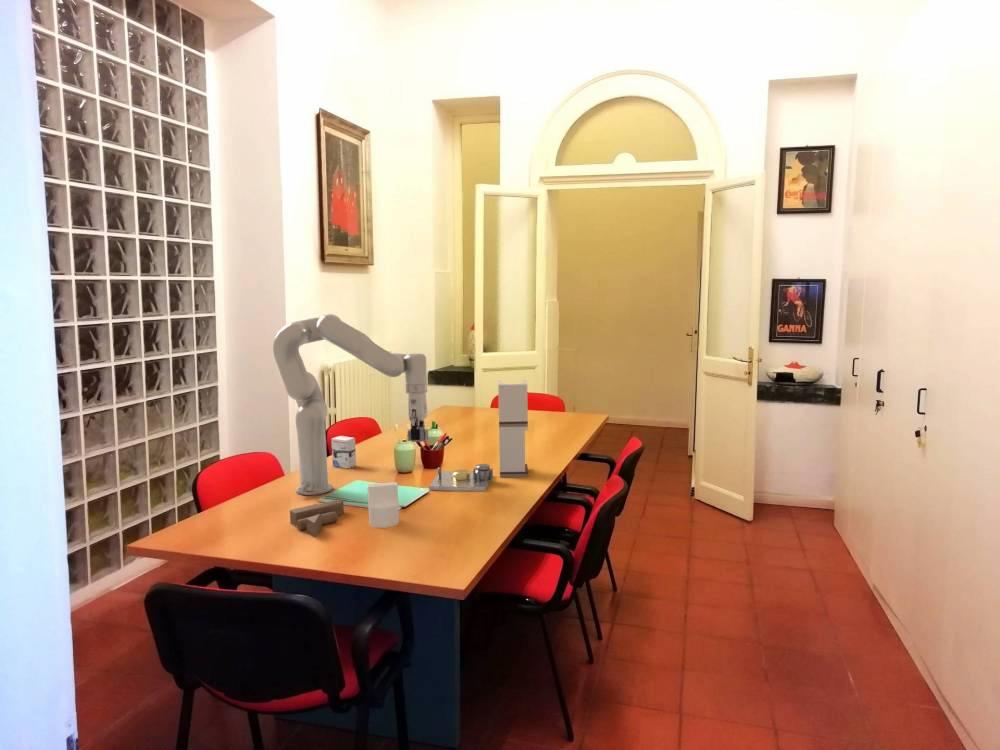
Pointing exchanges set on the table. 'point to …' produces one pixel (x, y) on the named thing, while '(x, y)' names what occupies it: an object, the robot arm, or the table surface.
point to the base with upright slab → (383, 505)
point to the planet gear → (422, 434)
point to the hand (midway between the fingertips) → (417, 437)
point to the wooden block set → (316, 516)
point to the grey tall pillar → (512, 429)
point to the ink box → (343, 452)
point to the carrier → (463, 479)
